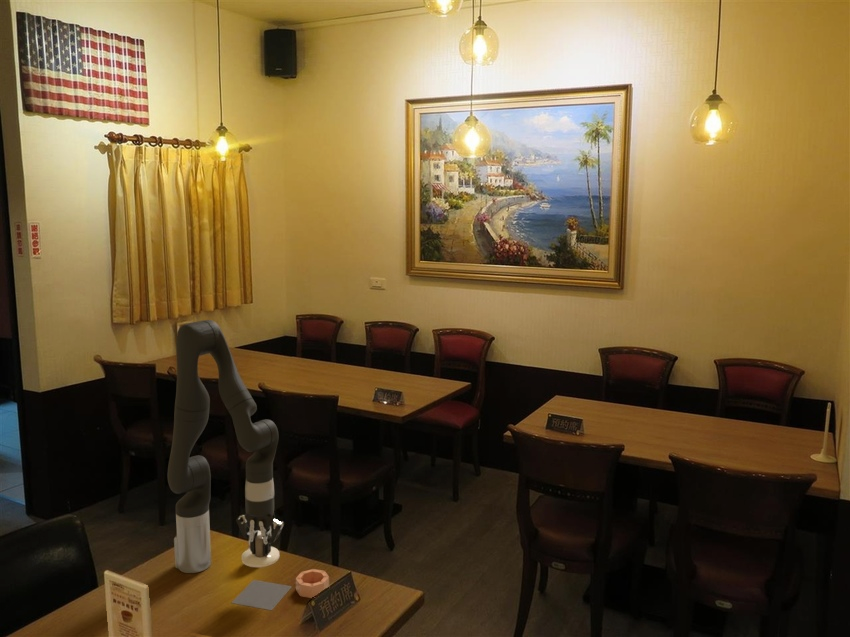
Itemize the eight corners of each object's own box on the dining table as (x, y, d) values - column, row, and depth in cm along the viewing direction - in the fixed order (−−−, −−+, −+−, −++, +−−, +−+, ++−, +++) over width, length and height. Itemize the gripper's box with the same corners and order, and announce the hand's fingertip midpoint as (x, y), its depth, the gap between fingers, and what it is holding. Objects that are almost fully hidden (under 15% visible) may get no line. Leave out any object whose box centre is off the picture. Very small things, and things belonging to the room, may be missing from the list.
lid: (234, 563, 185) (234, 543, 184) (253, 545, 194) (252, 526, 193) (268, 570, 182) (268, 549, 181) (285, 551, 192) (285, 532, 191)
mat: (231, 604, 186) (231, 602, 186) (253, 581, 197) (253, 579, 197) (271, 612, 183) (271, 610, 183) (292, 588, 194) (292, 586, 194)
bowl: (292, 596, 190) (291, 583, 189) (305, 580, 198) (305, 567, 197) (320, 601, 188) (320, 587, 187) (332, 585, 196) (332, 572, 195)
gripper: (228, 496, 183) (230, 556, 186) (277, 503, 180) (277, 565, 183) (243, 485, 190) (244, 543, 193) (290, 492, 187) (290, 551, 190)
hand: (260, 553), depth 188 cm, fingers closed on lid, 2 cm apart
